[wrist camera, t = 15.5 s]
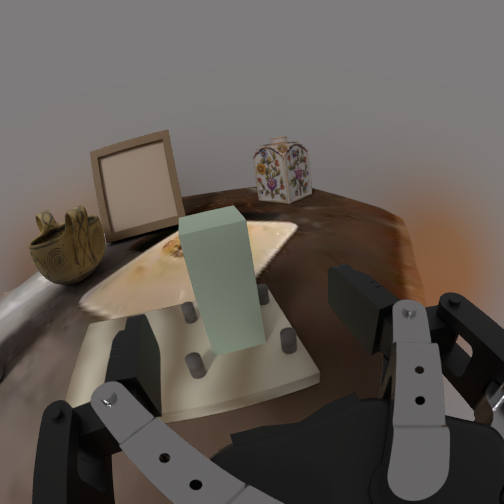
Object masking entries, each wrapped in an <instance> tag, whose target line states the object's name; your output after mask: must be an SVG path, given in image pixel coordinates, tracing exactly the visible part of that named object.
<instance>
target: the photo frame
mask: <svg viewBox="0 0 504 504" xmlns="http://www.w3.org/2000/svg"><path fill="white" fill-rule="evenodd" d="M90 155H91V164H92V171H93V177H94V183H95V190H96V195H97V200H98V206H99V210H100V216H101V220H102V225H103V229H104V234H105V238H106V242H107V243H110V242H114V241H117V240H121V239H124V238H128V237H132V236H135V235H139V234H143V233H146V232H150V231H154V230H158V229H162V228H166V227H169V226H173V225H177V224H179V218H181V217H185V216H186V215H185V211H184V206H183V202H182V197H181V192H180V188H179V183H178V178H177V173H176V168H175V163H174V158H173V153H172V148H171V142H170V136H169V132H168V130H164V131H160V132H156V133H152V134H148V135H145V136H141V137H137V138H133V139H130V140H127V141H123V142H120V143H116V144H113V145H110V146H107V147H104V148H101V149H98V150H95V151H92V152H90Z"/></svg>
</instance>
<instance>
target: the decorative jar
mask: <svg viewBox="0 0 504 504" xmlns="http://www.w3.org/2000/svg"><path fill="white" fill-rule="evenodd" d="M270 142H271V144H266V145H263V146H261V147H259V149H257V151H256V153H255V154H254V156H253V160H254V168H255V176H256V184H257V190H258V196H259V201H265V202H274V203H283V204H291V203H293V202H296V201H298V200H301V199H303V198H305V197H308V196H310V195H312V183H311V174H310V165H309V157H308V151H307V149H306V148H305V147H303V145H302V144H300V143H298V142H287V137H286V136H283V137H275V138H270Z"/></svg>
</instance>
